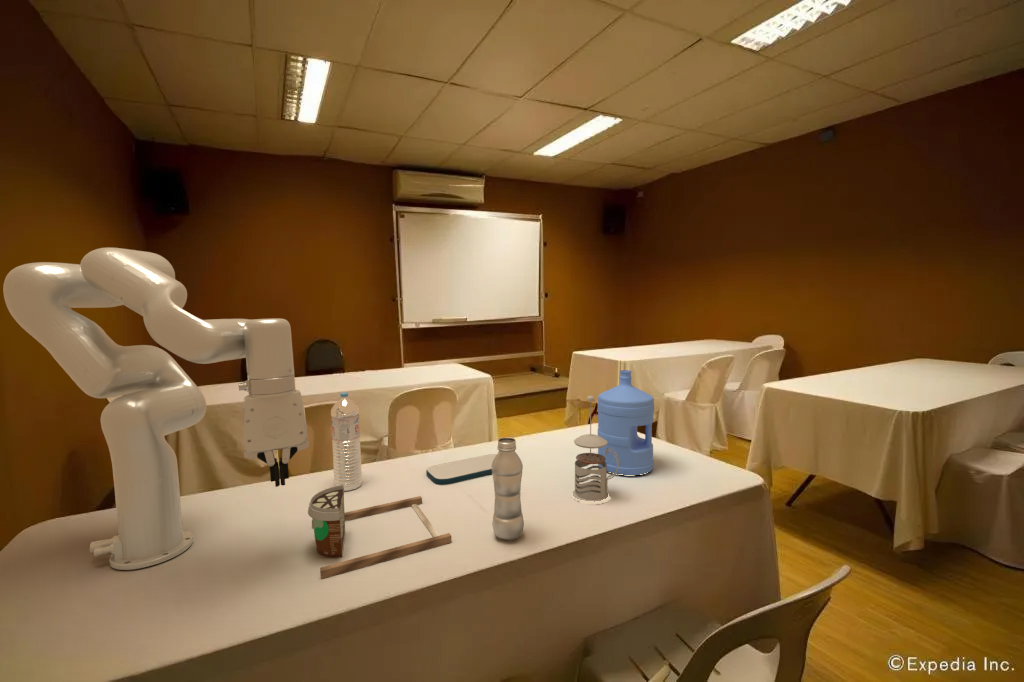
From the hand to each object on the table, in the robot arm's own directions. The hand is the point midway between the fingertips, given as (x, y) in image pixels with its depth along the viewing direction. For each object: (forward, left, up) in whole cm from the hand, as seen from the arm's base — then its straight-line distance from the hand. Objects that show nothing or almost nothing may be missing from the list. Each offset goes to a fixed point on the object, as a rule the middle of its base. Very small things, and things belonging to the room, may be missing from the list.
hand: (280, 483), depth 82 cm
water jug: (+87, +3, -15) cm, 89 cm away
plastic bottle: (+40, -14, -15) cm, 45 cm away
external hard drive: (+47, +23, -15) cm, 55 cm away
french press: (+67, -8, -15) cm, 69 cm away
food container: (+7, 0, -15) cm, 17 cm away
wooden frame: (+17, 0, -15) cm, 23 cm away
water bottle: (+15, +29, -15) cm, 36 cm away
